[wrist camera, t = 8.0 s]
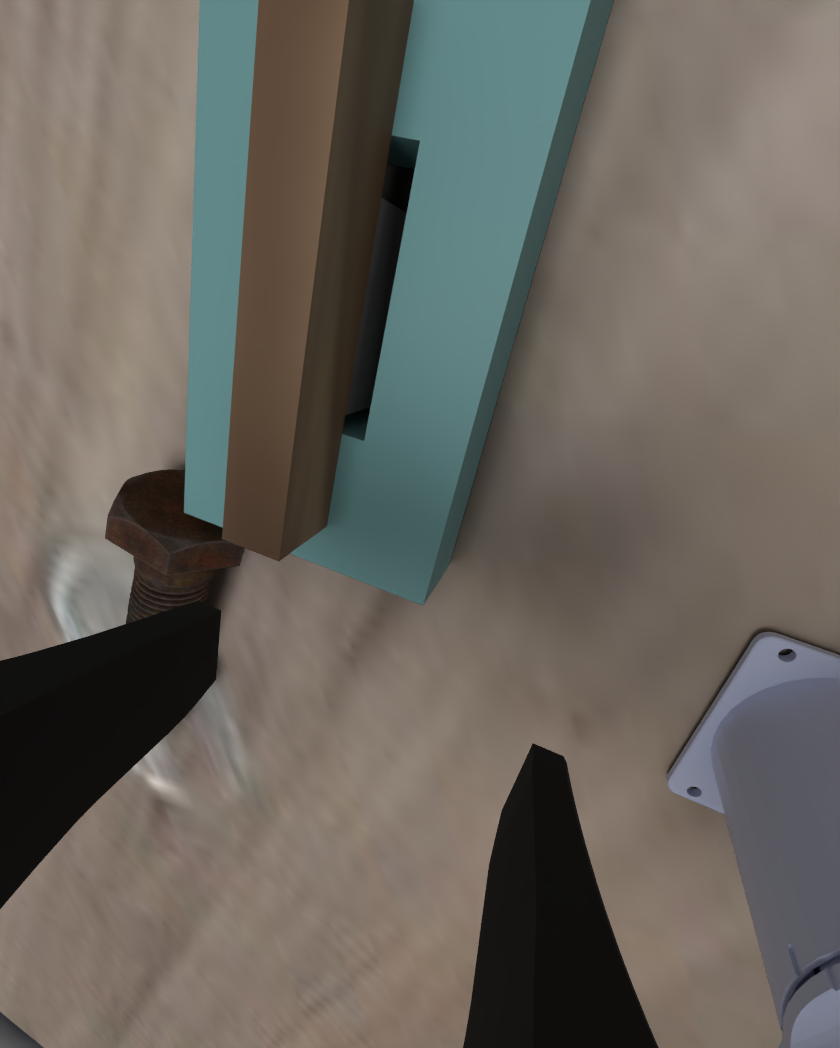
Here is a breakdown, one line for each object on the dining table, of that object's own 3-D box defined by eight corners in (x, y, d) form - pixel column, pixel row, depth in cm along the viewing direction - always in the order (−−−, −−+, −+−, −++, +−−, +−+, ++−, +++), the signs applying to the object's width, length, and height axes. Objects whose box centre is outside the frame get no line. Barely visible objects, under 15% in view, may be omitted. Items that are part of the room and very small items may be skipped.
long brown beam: (447, 61, 15) (361, -94, 9) (362, 500, 20) (279, 561, 15) (384, 51, 15) (265, -104, 10) (318, 485, 21) (222, 538, 15)
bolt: (182, 672, 31) (233, 469, 24) (212, 740, 29) (280, 534, 22) (71, 702, 27) (92, 469, 20) (94, 785, 25) (127, 549, 17)
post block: (620, -23, 13) (627, -132, 10) (449, 563, 21) (423, 605, 18) (285, -61, 15) (204, -161, 12) (240, 487, 23) (184, 512, 20)
